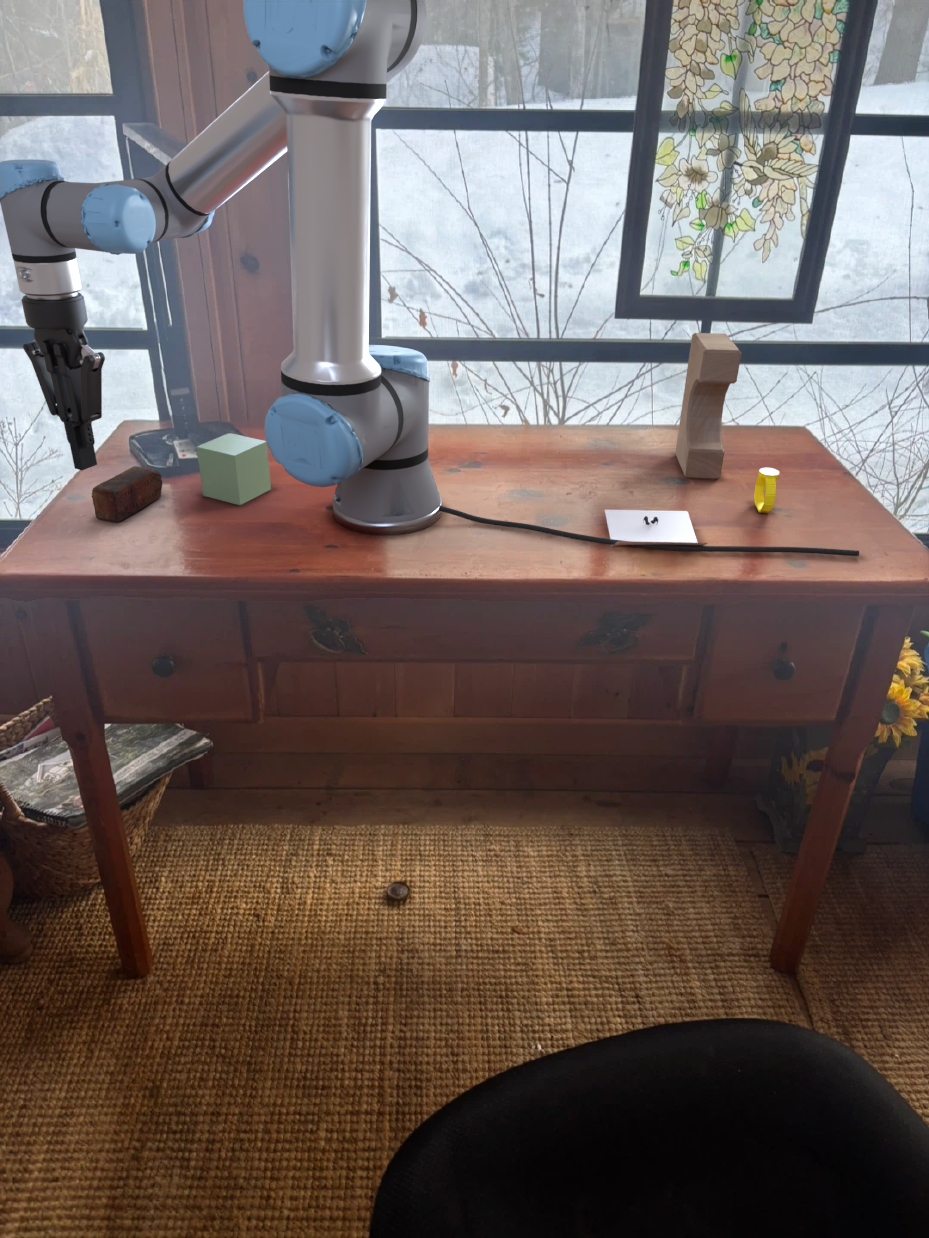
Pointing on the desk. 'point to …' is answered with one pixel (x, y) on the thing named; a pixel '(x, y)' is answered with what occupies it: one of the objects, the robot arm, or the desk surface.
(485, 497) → the desk surface
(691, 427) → the decorative block
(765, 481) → the watch
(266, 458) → the green block
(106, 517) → the brick
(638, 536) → the folded paper
